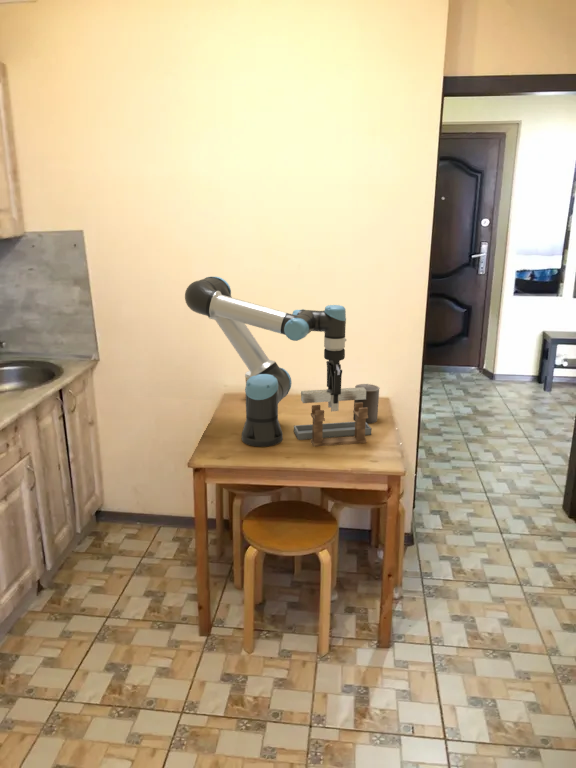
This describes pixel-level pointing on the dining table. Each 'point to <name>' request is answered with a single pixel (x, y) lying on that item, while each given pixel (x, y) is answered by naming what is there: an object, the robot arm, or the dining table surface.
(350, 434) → the tray
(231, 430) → the dining table surface
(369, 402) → the pillar candle
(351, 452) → the dining table surface
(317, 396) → the rail
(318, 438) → the rack
